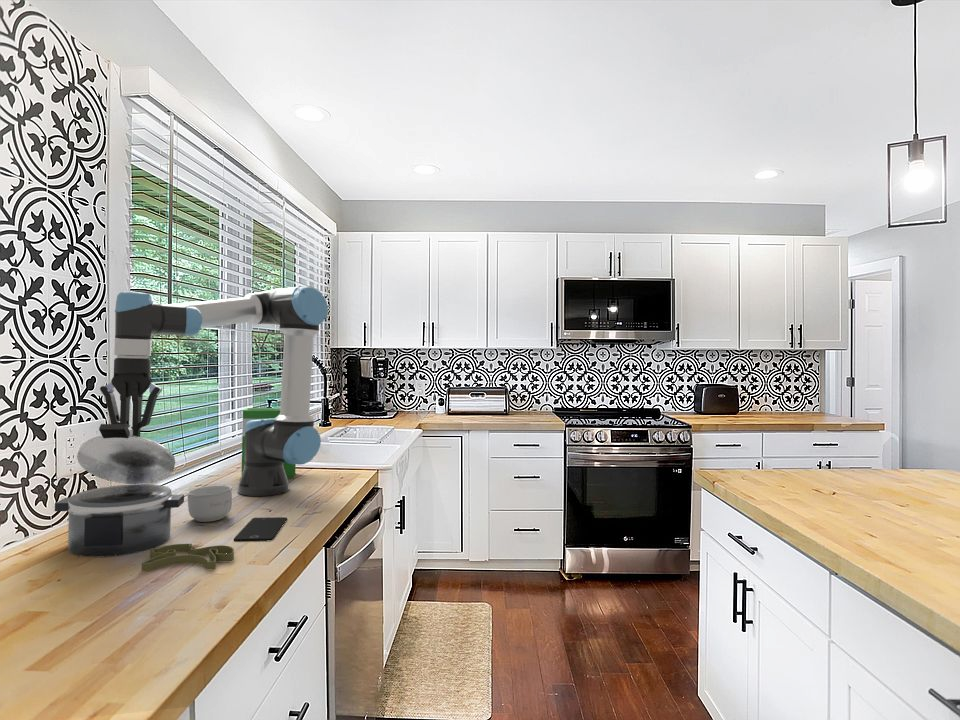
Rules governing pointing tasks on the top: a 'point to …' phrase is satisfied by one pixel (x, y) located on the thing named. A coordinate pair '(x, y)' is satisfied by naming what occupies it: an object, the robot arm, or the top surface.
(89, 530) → the cooker
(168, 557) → the cookie cutter
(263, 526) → the cell phone
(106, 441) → the lid
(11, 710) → the top surface
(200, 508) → the teacup
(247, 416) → the hardback book
